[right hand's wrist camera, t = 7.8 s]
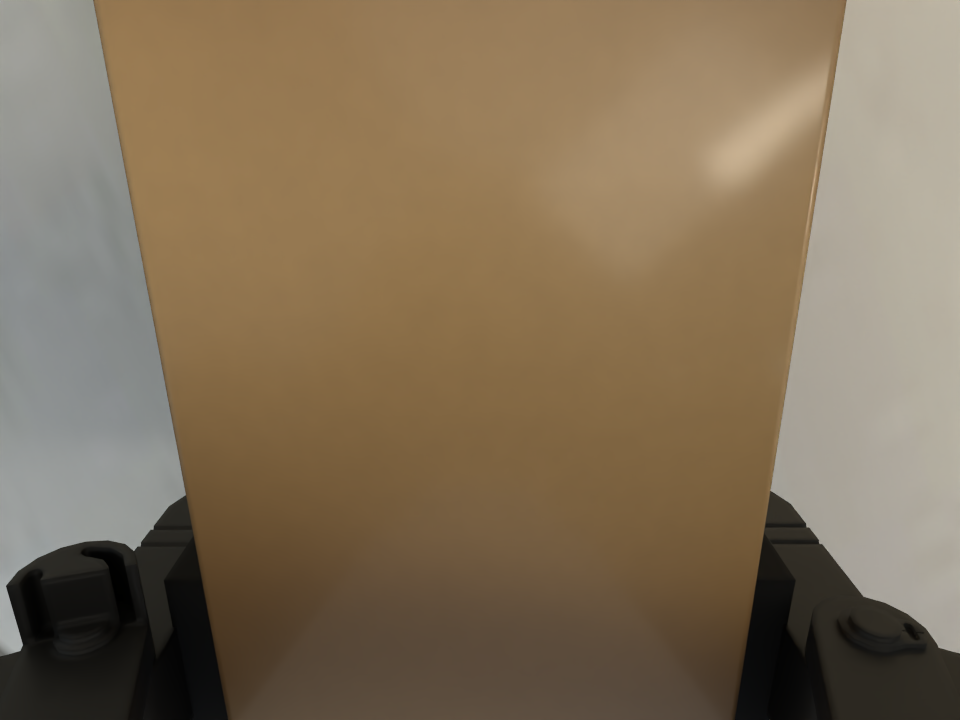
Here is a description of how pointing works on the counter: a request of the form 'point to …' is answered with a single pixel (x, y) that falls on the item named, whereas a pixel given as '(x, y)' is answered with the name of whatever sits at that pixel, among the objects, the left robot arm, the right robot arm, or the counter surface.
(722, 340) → the post
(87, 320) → the counter surface
